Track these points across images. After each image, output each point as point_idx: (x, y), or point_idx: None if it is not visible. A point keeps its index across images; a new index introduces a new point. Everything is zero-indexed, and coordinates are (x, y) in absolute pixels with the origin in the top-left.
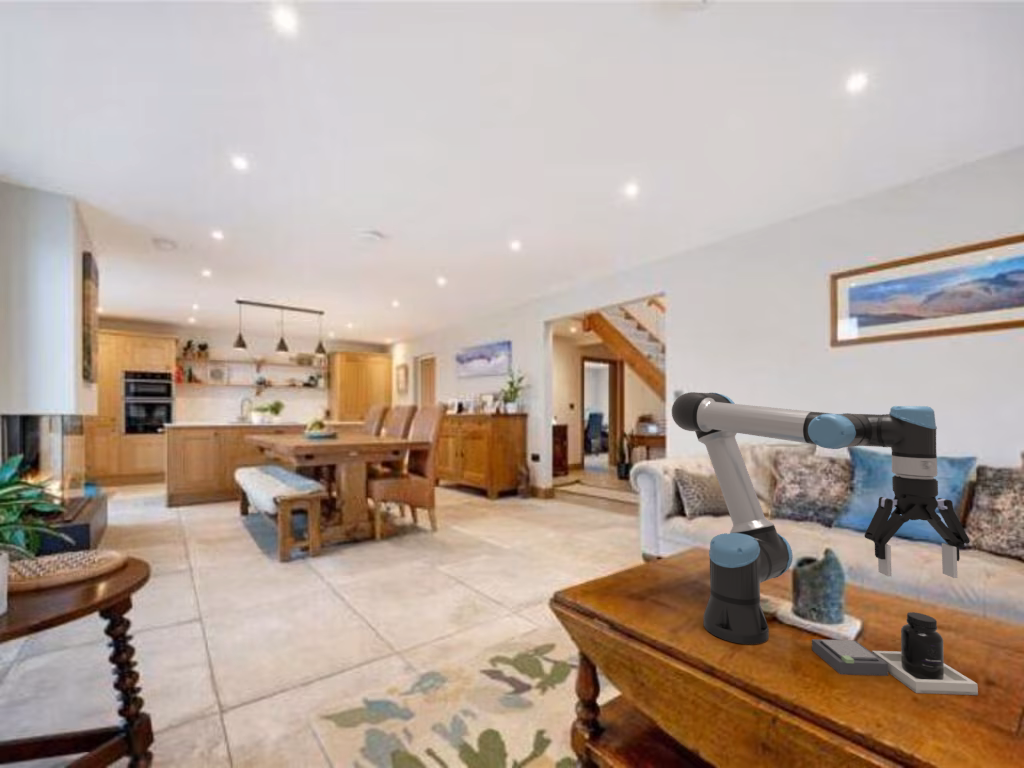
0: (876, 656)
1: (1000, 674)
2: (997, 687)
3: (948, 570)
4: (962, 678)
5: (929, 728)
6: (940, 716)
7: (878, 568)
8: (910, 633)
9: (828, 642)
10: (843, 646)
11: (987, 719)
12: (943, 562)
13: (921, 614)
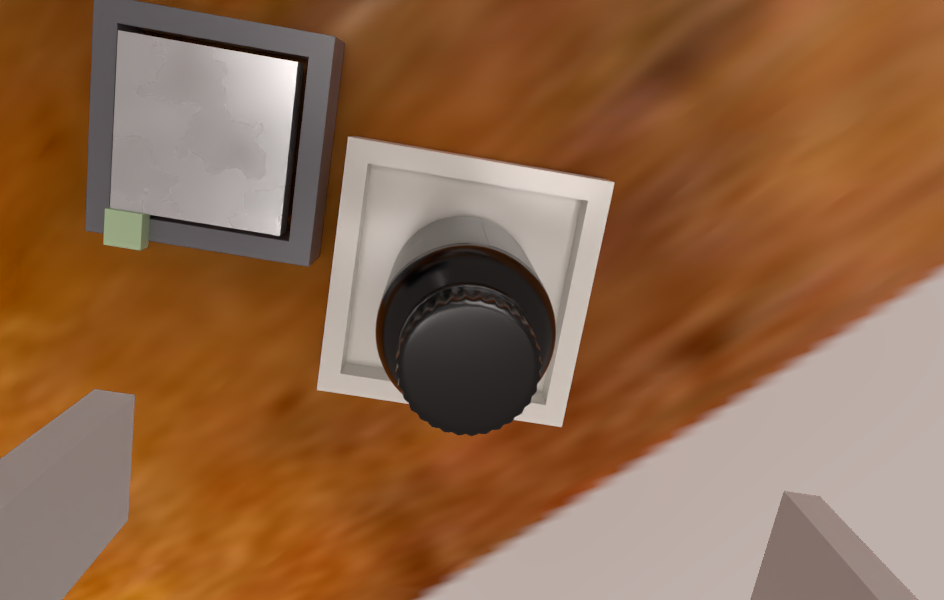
0: (311, 202)
1: (822, 299)
2: (693, 374)
3: (788, 592)
4: (549, 381)
5: (189, 538)
6: (286, 493)
7: (72, 406)
8: (381, 348)
9: (140, 65)
10: (192, 116)
11: (433, 521)
12: (841, 584)
13: (507, 336)
